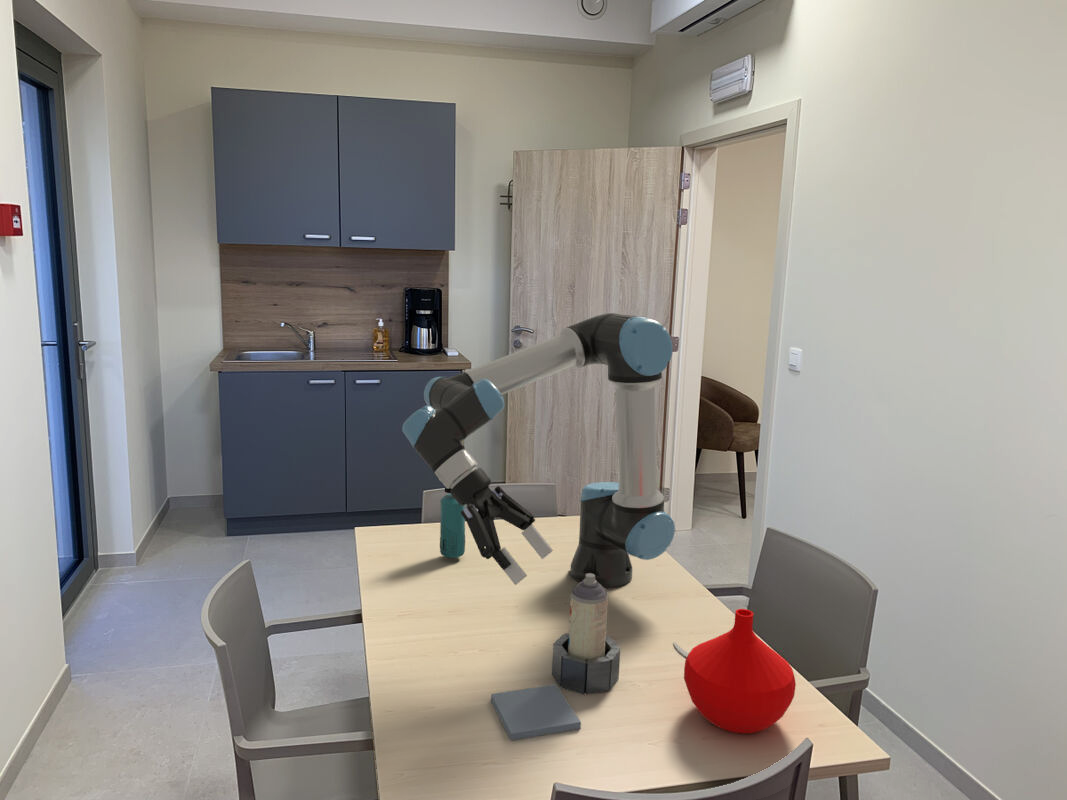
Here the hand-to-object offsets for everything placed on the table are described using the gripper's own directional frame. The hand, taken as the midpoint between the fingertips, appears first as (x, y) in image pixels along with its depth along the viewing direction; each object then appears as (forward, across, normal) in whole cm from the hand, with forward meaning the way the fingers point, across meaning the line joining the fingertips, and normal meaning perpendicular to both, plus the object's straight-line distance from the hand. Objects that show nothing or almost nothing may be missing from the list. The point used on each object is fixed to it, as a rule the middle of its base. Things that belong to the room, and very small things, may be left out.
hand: (535, 567), depth 147 cm
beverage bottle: (-13, -40, -41) cm, 59 cm away
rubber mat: (+18, +15, -9) cm, 26 cm away
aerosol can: (+22, 0, -6) cm, 22 cm away
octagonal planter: (+21, 0, -6) cm, 22 cm away
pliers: (+36, -16, +8) cm, 40 cm away
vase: (+41, +2, +13) cm, 43 cm away
